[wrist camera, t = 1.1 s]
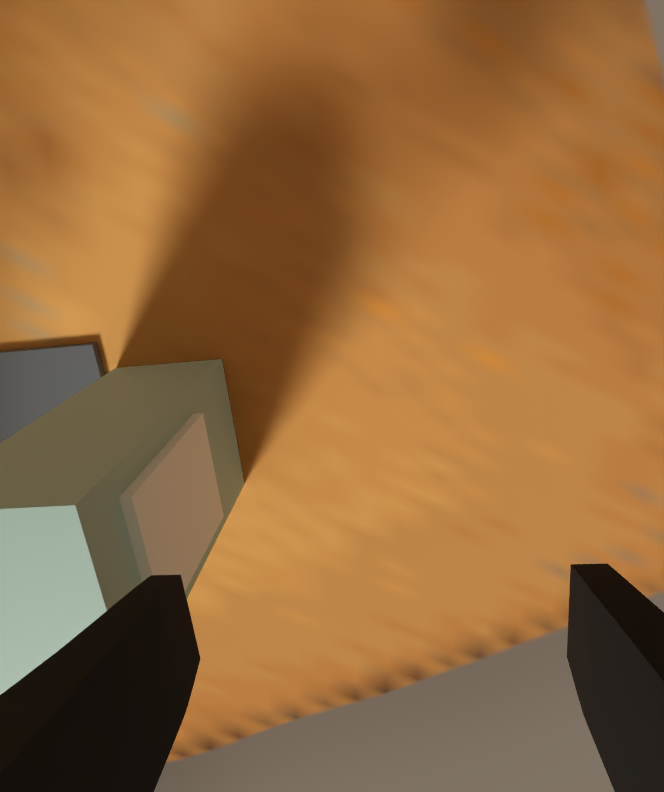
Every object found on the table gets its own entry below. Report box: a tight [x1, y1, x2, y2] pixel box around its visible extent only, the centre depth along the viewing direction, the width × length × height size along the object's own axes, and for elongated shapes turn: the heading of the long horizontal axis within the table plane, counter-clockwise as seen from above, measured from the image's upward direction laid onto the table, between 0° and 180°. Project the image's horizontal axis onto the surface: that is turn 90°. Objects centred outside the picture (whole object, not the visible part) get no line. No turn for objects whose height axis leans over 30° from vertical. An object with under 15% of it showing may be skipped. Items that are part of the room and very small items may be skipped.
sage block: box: [0, 359, 245, 695], centre depth 17 cm, size 4×5×10 cm
